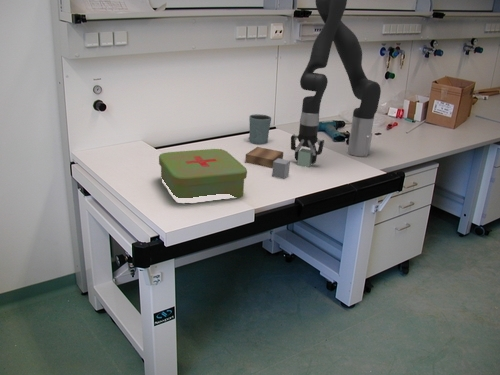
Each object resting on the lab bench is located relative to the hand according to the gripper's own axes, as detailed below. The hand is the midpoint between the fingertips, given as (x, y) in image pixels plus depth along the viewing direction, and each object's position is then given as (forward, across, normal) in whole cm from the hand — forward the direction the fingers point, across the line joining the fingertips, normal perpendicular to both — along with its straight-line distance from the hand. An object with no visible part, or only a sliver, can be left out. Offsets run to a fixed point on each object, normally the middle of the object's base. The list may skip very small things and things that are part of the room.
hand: (305, 161), depth 204 cm
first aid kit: (+2, +24, +45) cm, 51 cm away
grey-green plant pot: (+1, +29, -18) cm, 34 cm away
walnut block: (+2, +16, +6) cm, 17 cm away
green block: (+1, 0, 0) cm, 1 cm away
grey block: (+1, +4, +18) cm, 18 cm away
